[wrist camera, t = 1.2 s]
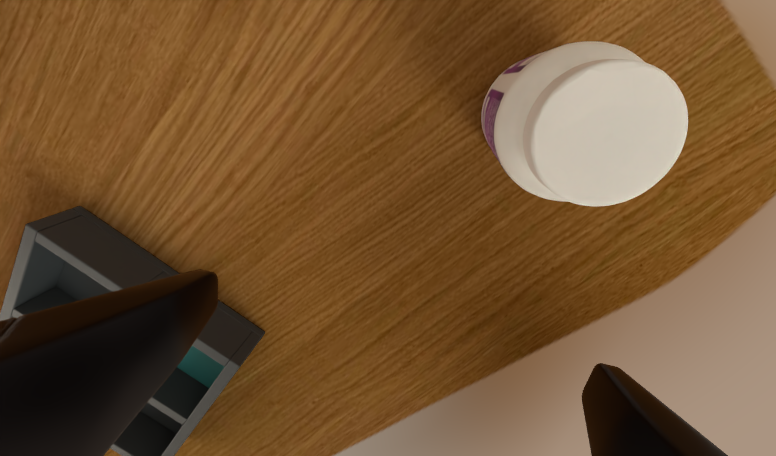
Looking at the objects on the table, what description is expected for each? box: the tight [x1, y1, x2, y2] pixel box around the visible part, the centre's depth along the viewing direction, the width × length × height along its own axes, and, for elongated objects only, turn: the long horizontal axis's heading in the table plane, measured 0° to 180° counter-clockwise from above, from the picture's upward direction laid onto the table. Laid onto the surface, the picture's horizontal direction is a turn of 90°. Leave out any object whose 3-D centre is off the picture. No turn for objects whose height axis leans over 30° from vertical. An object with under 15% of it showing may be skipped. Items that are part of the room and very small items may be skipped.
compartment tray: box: [0, 206, 265, 456], centre depth 28 cm, size 15×15×4 cm
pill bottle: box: [481, 41, 688, 206], centre depth 15 cm, size 5×5×10 cm
